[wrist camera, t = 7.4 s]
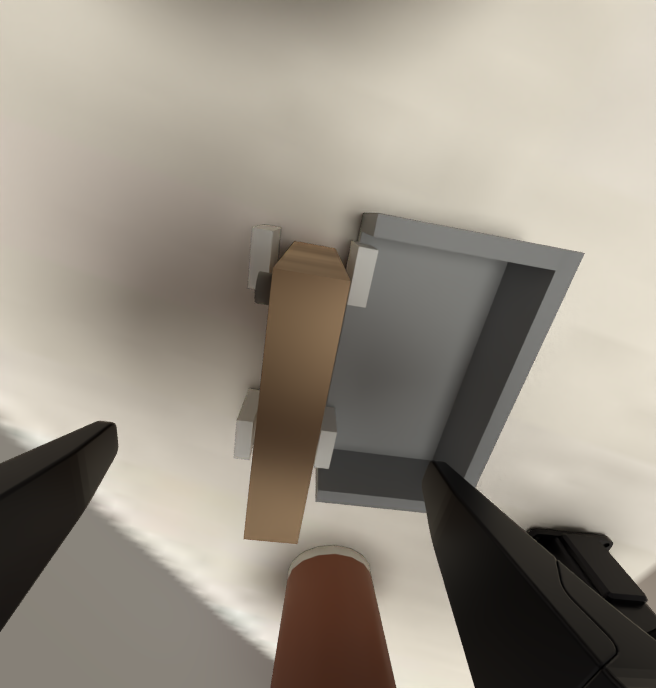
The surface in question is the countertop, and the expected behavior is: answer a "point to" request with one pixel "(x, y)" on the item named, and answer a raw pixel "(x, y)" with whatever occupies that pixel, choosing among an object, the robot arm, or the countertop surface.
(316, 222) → the countertop surface
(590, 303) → the countertop surface
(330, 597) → the coffee cup
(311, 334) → the door
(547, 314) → the carcass
